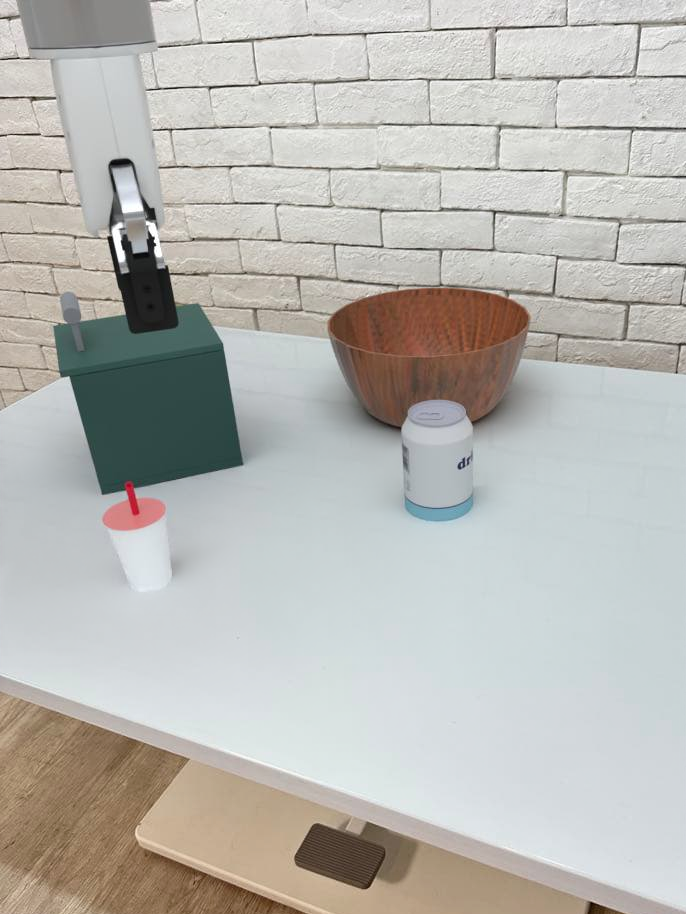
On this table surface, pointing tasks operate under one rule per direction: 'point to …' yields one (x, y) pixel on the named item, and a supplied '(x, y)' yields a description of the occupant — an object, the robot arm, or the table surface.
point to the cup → (141, 540)
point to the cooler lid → (127, 340)
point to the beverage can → (437, 461)
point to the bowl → (429, 349)
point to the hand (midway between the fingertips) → (147, 308)
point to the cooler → (158, 420)
